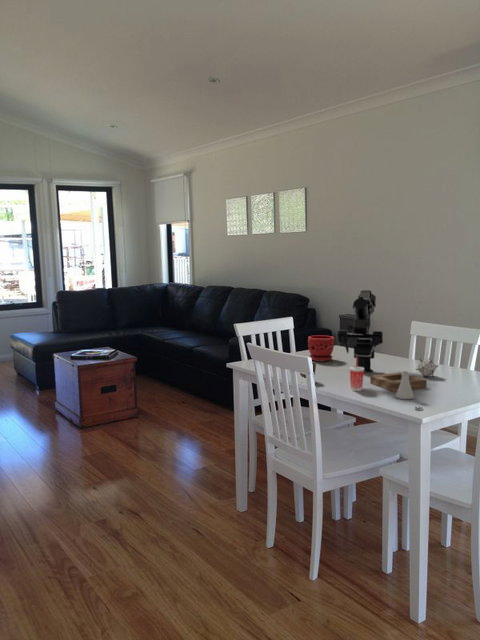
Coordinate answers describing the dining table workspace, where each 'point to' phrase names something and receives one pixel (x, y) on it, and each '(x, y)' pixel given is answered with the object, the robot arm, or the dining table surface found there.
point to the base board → (396, 381)
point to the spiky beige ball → (426, 367)
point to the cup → (313, 370)
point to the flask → (405, 387)
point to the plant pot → (321, 347)
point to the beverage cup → (356, 377)
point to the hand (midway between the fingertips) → (358, 353)
